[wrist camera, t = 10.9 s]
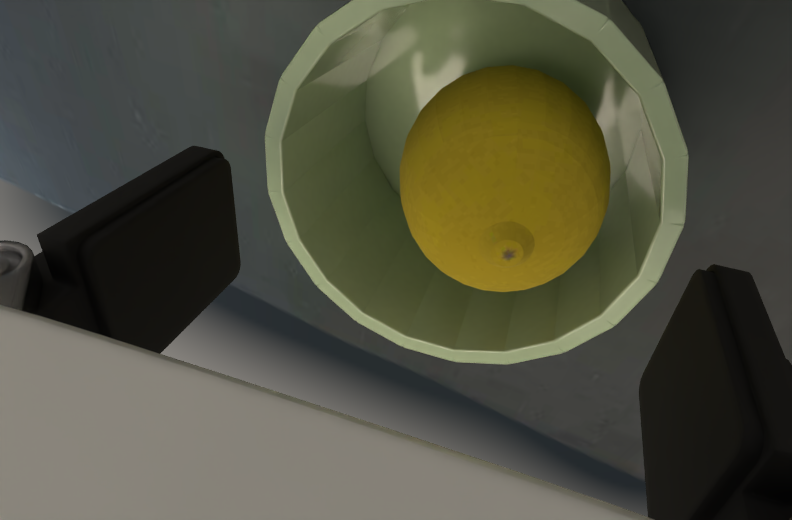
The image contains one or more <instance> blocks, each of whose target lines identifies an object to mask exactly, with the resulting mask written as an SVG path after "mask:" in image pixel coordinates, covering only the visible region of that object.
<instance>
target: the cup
mask: <svg viewBox="0 0 792 520" xmlns="http://www.w3.org/2000/svg"><path fill="white" fill-rule="evenodd" d="M507 65H515V66H520V67H525V68H530V69H536V70H539V71H541V72H543V73H545V74H547V75H549V76H551V77H553V78H555V79H557V80H559V81H561V82H563V83H564V84H565V85H567V86H568V87H569V88H570V89H571V90H572V91H573V92H574V93H575V94H577V95H578V96H579V97H580V98H581V99H582V100H583V101H584V102H585V103H586V104H587V106H588V107H589V109H590V111H591V113H592V114H593V116H594V118H595V119H596V121H597V123H598V124H599V126H600V128H601V130H602V132H603V135H604V139H605V143H606V147H607V152H608V156H609V160H610V167H611V174H610V193H609V204H608V207H607V211H606V214H605V216H604V219H603V222H602V225H601V228H600V230H599V233H598V235H597V236H596V238H595V240H594V241H593V242H592V244H591V245H590V247H589V248H588V250H587V251H586V253H585V254H584V255H583V256H582V257H581V258H580V259H579V260H578V261H577V262H576V263H575V264H573V265H572V266H571V267H570V268H569V269H568V270H567V271H566V272H564V273H563V274H561V275H560V276H558V277H556V278H554V279H552V280H551V281H549V282H547V283H545V284H542V285H539V286H536V287H532V288H529V289H526V290H519V291H510V292H496V291H486V290H481V289H477V288H474V287H471V286H468V285H464V284H462V283H460V282H459V281H457V280H455V279H453V278H452V277H450V276H448V275H446V274H445V273H443V272H442V271H441V270H439V269H438V268H437V267H436V266H435V265H434V264H433V263H432V262H431V261H430V260H429V259H428V258H427V257H426V256H425V255H424V253H423V252H422V250H421V249H420V247H419V245H418V244H417V242H416V241H415V239H414V238H413V236H412V234H411V232H410V229H409V226H408V223H407V220H406V217H405V214H404V211H403V207H402V204H401V196H400V163H401V159H402V154H403V150H404V146H405V142H406V138H407V136H408V133H409V132H410V130H411V128H412V126H413V124H414V122H415V120H416V119H417V117H418V115H419V113H420V111H421V110H422V109H423V107H424V106H425V105H426V104H427V103H428V102H429V101H430V100H431V99H432V98H433V97H434V96H435V95H436V93H437V92H438V91H439V90H440V89H442V88H443V87H445V86H446V85H448V84H449V83H451V82H453V81H454V80H456V79H457V78H459V77H460V76H462V75H465V74H468V73H470V72H473V71H476V70H479V69H482V68H485V67H493V66H507ZM265 150H266V167H267V184H268V191H269V196H270V199H271V201H272V204H273V207H274V210H275V212H276V215H277V218H278V221H279V224H280V226H281V229H282V232H283V235H284V238H285V240H286V242H287V244H288V246H289V247H290V248H291V250H292V251H293V253H294V254H295V256H296V257H297V259H298V260H299V262H300V263H301V264H302V266H303V267H304V269H305V270H306V272H307V273H308V275H309V276H310V278H311V279H312V280H313V282H314V283H315V285H318V286H317V287H318V288H319V289H320V290H321V291H322V292H324V293H325V294H326V295H327V296H328V297H329V298H330V299H331V300H332V301H334V302H335V303H336V304H337V305H338V306H339V307H340V308H341V309H343V310H344V311H345V312H346V313H347V314H348V315H349V316H350V317H351V318H353V319H354V320H355V321H356V320H357V322H358V323H360V324H361V325H363V326H365V327H367V328H369V329H370V330H372V331H374V332H376V333H378V334H380V335H381V336H383V337H385V338H387V339H389V340H390V341H392V342H394V343H396V344H398V345H400V346H403V347H404V348H407V349H411V350H414V351H418V352H421V353H425V354H429V355H432V356H436V357H439V358H443V359H446V360H450V361H454V362H466V363H488V364H508V363H509V364H512V363H517V362H522V361H527V360H532V359H537V358H542V357H547V356H551V355H556V354H561V353H563V352H566V351H568V350H570V349H572V348H574V347H576V346H578V345H580V344H582V343H584V342H586V341H588V340H590V339H591V338H593V337H595V336H597V335H599V334H601V333H603V332H605V331H607V330H609V329H611V328H613V327H614V325H617V324H618V323H619V322H620V321H621V320H622V319H623V318H624V317H625V316H626V315H627V314H628V313H629V312H630V311H631V310H632V309H633V308H634V307H635V306H636V305H637V304H638V303H639V301H640V300H641V299H642V298H643V297H644V296H645V295H646V294H647V293H648V292H649V291H650V290H651V289H652V288H653V287H654V286H655V285H656V284H657V282H658V281H659V280H660V277H661V275H662V273H663V271H664V269H665V267H666V264H667V262H668V260H669V258H670V256H671V254H672V251H673V249H674V247H675V245H676V243H677V241H678V238H679V236H680V234H681V232H682V230H683V227H684V223H685V220H686V201H687V183H688V164H689V155H688V149H687V146H686V143H685V140H684V137H683V134H682V132H681V129H680V126H679V123H678V120H677V117H676V114H675V111H674V108H673V106H672V103H671V100H670V97H669V94H668V91H667V88H666V85H665V83H664V80H663V78H662V75H661V73H660V70H659V68H658V65H657V63H656V60H655V58H654V55H653V53H652V50H651V48H650V45H649V43H648V40H647V38H646V35H645V33H644V30H643V28H642V27H641V24H640V23H639V22H638V21H637V19H636V18H635V17H634V16H633V15H632V14H631V12H630V11H629V9H628V8H627V6H626V5H625V4H624V3H623V2H622V1H621V0H352V1H350V2H349V3H347V4H346V5H344V6H343V7H341V8H340V9H338V10H337V11H335V12H334V13H333V14H331V15H330V16H328V17H327V18H325V19H324V20H322V21H321V22H319V23H318V25H317V26H315V27H314V29H313V30H312V32H311V33H310V35H309V36H308V38H307V39H306V40H305V42H304V43H303V45H302V46H301V48H300V49H299V51H298V52H297V53H296V55H295V56H294V58H293V59H292V61H291V62H290V63H289V65H288V66H287V68H286V69H285V71H284V72H283V74H282V75H281V78H280V79H279V83H278V87H277V90H276V94H275V98H274V102H273V106H272V109H271V113H270V117H269V121H268V124H267V128H266V132H265Z"/></svg>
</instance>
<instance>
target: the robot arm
mask: <svg viewBox="0 0 792 520" xmlns="http://www.w3.org/2000/svg"><path fill="white" fill-rule="evenodd" d="M37 237H38V239H39V242H40V245H41V248H42V251H43V252H41V253H39V254H38V255H36V256H34V254H33V252H32V250H31V249H30V248H29V247H28V246H27V245H24V244H22V243H19V242H14V241H0V520H792V365H791V363H790V362H789V360H787V359H786V358H785V356H784V353H783V351H782V348H781V346H780V344H779V341H778V339H777V336H776V334H775V331H774V329H773V326H772V324H771V321H770V319H769V316H768V314H767V312H766V309H765V307H764V304H763V302H762V299H761V297H760V294H759V292H758V289H757V287H756V284H755V282H754V280H753V277H752V275H751V274H750V273H749V272H745V271H741V270H737V269H732V268H728V267H723V266H719V265H715V264H713V265H711V266H710V267H709V268H708V269H707V271H705V270H700V269H698V270H696V272H695V273H694V274H693V276H692V278H691V280H690V282H689V284H688V286H687V288H686V290H685V292H684V294H683V296H682V298H681V300H680V301H679V303H678V305H677V307H676V309H675V311H674V313H673V315H672V317H671V319H670V321H669V323H668V325H667V327H666V329H665V331H664V333H663V335H662V337H661V339H660V341H659V343H658V345H657V347H656V349H655V351H654V353H653V355H652V357H651V359H650V361H649V363H648V365H647V367H646V369H645V371H644V373H643V375H642V378H641V381H640V386H639V400H640V414H641V427H642V441H643V454H644V468H645V482H646V495H647V509H648V517H646V516H643V515H640V514H637V513H635V512H632V511H629V510H627V509H624V508H621V507H618V506H615V505H612V504H610V503H607V502H604V501H601V500H598V499H595V498H592V497H589V496H586V495H584V494H581V493H578V492H575V491H572V490H569V489H566V488H563V487H561V486H558V485H555V484H552V483H549V482H546V481H543V480H540V479H538V478H535V477H531V476H529V475H525V474H523V473H519V472H517V471H514V470H511V469H508V468H504V467H502V466H499V465H496V464H493V463H490V462H487V461H484V460H481V459H478V458H475V457H472V456H469V455H465V454H463V453H460V452H457V451H454V450H451V449H448V448H445V447H442V446H439V445H436V444H433V443H430V442H427V441H424V440H421V439H418V438H415V437H412V436H409V435H406V434H403V433H400V432H397V431H394V430H391V429H388V428H385V427H382V426H379V425H376V424H373V423H370V422H367V421H364V420H361V419H358V418H355V417H352V416H349V415H346V414H343V413H340V412H337V411H333V410H331V409H327V408H325V407H321V406H318V405H315V404H312V403H309V402H306V401H303V400H300V399H297V398H294V397H291V396H288V395H285V394H282V393H279V392H276V391H273V390H269V389H267V388H264V387H260V386H257V385H254V384H251V383H248V382H245V381H242V380H239V379H236V378H233V377H230V376H226V375H224V374H221V373H217V372H215V371H212V370H208V369H205V368H202V367H199V366H196V365H193V364H190V363H187V362H184V361H180V360H177V359H174V358H171V357H168V356H165V355H162V354H160V353H161V352H162V351H163V350H164V349H165V348H166V347H167V346H168V345H169V344H170V343H171V342H172V341H173V340H174V339H175V338H176V337H177V336H178V335H179V334H180V333H181V332H182V331H183V330H184V329H185V328H186V327H187V326H188V325H189V324H190V323H191V322H192V321H193V320H194V319H195V318H196V317H197V316H198V315H199V314H200V313H201V312H202V311H203V310H204V309H205V308H206V307H207V306H208V305H209V304H210V303H211V302H212V301H213V300H214V299H215V298H216V297H217V296H218V295H219V294H220V293H221V292H222V291H223V290H224V289H225V288H226V287H227V286H228V285H229V284H230V283H231V282H232V281H233V280H234V279H235V278H236V277H237V275H238V273H239V270H240V253H239V243H238V234H237V224H236V214H235V205H234V195H233V186H232V176H231V167H230V164H229V162H228V161H227V160H225V159H224V156H223V154H222V153H221V152H220V151H216V150H211V149H207V148H203V147H198V146H191V147H189V148H187V149H186V150H184V151H182V152H180V153H179V154H177V155H175V156H173V157H172V158H170V159H168V160H166V161H165V162H163V163H161V164H159V165H158V166H156V167H154V168H152V169H151V170H149V171H147V172H145V173H144V174H142V175H140V176H138V177H137V178H135V179H133V180H131V181H130V182H128V183H126V184H124V185H123V186H121V187H119V188H118V189H116V190H114V191H112V192H111V193H109V194H107V195H105V196H104V197H102V198H100V199H98V200H97V201H95V202H93V203H91V204H90V205H88V206H86V207H84V208H83V209H81V210H79V211H77V212H76V213H74V214H72V215H70V216H69V217H67V218H65V219H63V220H62V221H60V222H58V223H57V224H55V225H53V226H51V227H50V228H48V229H46V230H44V231H43V232H41V233H39V234H37Z"/></svg>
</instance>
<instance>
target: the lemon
mask: <svg viewBox="0 0 792 520" xmlns="http://www.w3.org/2000/svg"><path fill="white" fill-rule="evenodd" d="M610 174H611V167H610V160H609V156H608V152H607V147H606V143H605V139H604V135H603V132H602V130H601V128H600V126H599V124H598V123H597V121H596V119H595V118H594V116H593V114H592V113H591V111H590V109H589V107H588V106H587V104H586V103H585V102H584V101H583V100H582V99H581V98H580V97H579V96H578V95H577V94H575V93H574V92H573V91H572V90H571V89H570V88H569V87H568V86H567V85H565V84H564V83H563V82H561V81H559V80H557V79H555V78H553V77H551V76H549V75H547V74H545V73H543V72H541V71H539V70H536V69H530V68H525V67H520V66H515V65H507V66H493V67H485V68H482V69H479V70H476V71H473V72H470V73H468V74H465V75H462V76H460V77H459V78H457V79H456V80H454V81H453V82H451V83H449V84H448V85H446V86H445V87H443V88H442V89H440V90H439V91H438V92H437V93H436V95H435V96H434V97H433V98H432V99H431V100H430V101H429V102H428V103H427V104H426V105H425V106H424V107H423V109H422V110H421V111H420V113H419V115H418V117H417V119H416V120H415V122H414V124H413V126H412V128H411V130H410V132H409V133H408V136H407V138H406V142H405V146H404V150H403V154H402V159H401V163H400V196H401V204H402V207H403V211H404V214H405V217H406V220H407V223H408V226H409V229H410V232H411V234H412V236H413V238H414V239H415V241H416V242H417V244H418V245H419V247H420V249H421V250H422V252H423V253H424V255H425V256H426V257H427V258H428V259H429V260H430V261H431V262H432V263H433V264H434V265H435V266H436V267H437V268H438V269H439V270H441V271H442V272H443V273H445V274H446V275H448V276H450V277H452V278H453V279H455V280H457V281H459V282H460V283H462V284H464V285H468V286H471V287H474V288H477V289H481V290H486V291H496V292H510V291H519V290H526V289H529V288H532V287H536V286H539V285H542V284H545V283H547V282H549V281H551V280H552V279H554V278H556V277H558V276H560V275H561V274H563V273H564V272H566V271H567V270H568V269H569V268H570V267H571V266H572V265H573V264H575V263H576V262H577V261H578V260H579V259H580V258H581V257H582V256H583V255H584V254H585V253H586V251H587V250H588V248H589V247H590V245H591V244H592V242H593V241H594V240H595V238H596V236H597V235H598V233H599V230H600V228H601V225H602V222H603V219H604V216H605V214H606V211H607V207H608V204H609V193H610Z"/></svg>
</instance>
